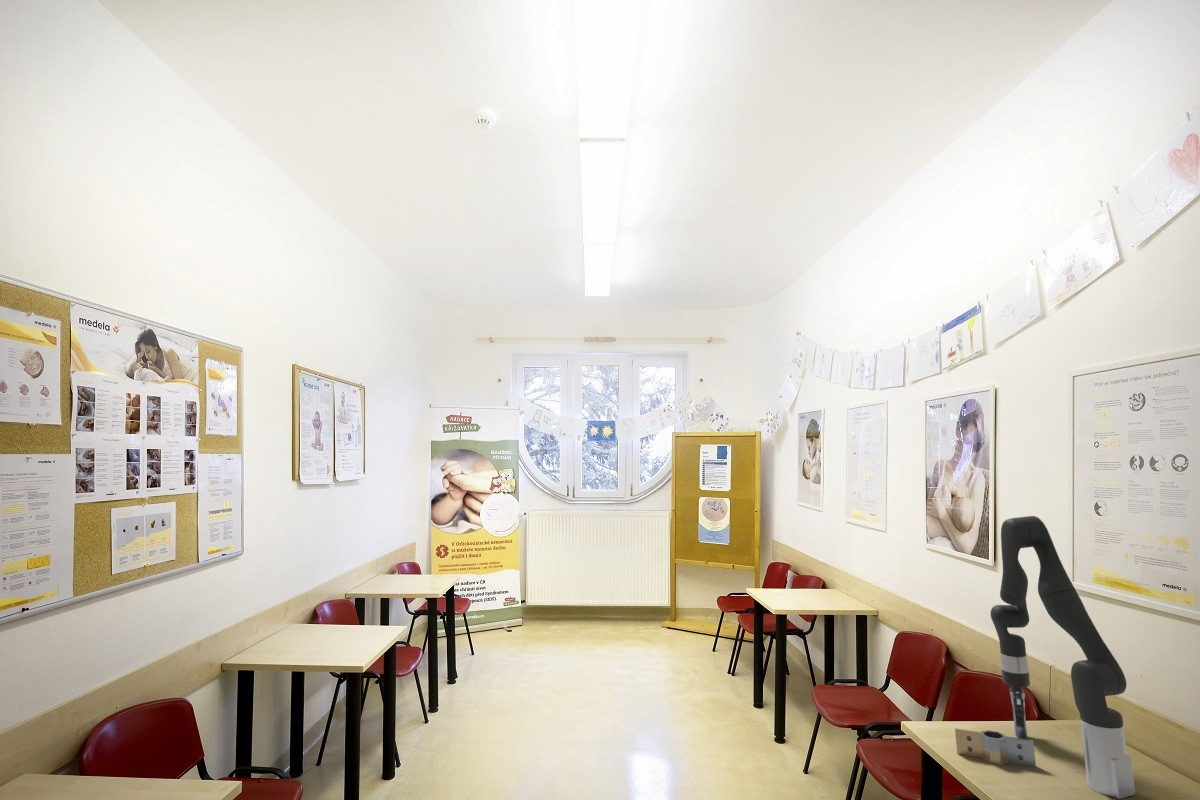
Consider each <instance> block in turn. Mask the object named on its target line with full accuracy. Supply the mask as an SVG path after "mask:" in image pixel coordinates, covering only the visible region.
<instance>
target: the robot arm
mask: <svg viewBox="0 0 1200 800" xmlns="http://www.w3.org/2000/svg"><path fill="white" fill-rule="evenodd" d="M1000 547H1001V549H1000V550H1001V559H1002V576H1001V583H1000V584H1001V585H1000V589H999V590H1000V592H999V597H1000V599H1001V600H1002V601H1003V602H1004V603H1006V604H997V605H994V606H992V608H991V609H990V618H991V621H992V623H993V627H994V628H995V631H996V633H997V634H996V635H997V637H998V641H999V649H1000V658H999V659H1000V660H999V661H1000V670H1001V679H1002V680H1001V681H1002V682H1003V683H1004V684H1005V685H1007V686H1010V687H1009V695H1010V700H1011V705H1012V707H1013V706H1014V709H1015V711H1014V713H1015V716H1016V725H1017V727H1023V728H1024V727H1025V724H1024V714H1025V715H1026V711H1025V712H1024V708H1026V704H1025V703H1026V702H1025V698H1026V695H1025V694H1026V693H1025V689H1022V688H1029V687H1030V685H1031V680H1030V671H1029V670H1030V669H1029V662H1028V656H1027V651H1026V649H1027V648H1026V641H1025V638H1024V637H1023V636H1021V635H1019V634H1015V633H1010V632H1009V630H1008V628H1009V629H1011V628H1012V629H1015V628H1016V629H1017V628H1018V629H1020V628H1021V629H1022V628H1026V627H1027V625H1028V624H1029V623H1030V614H1029V611H1028V604H1027V595H1028V588H1029V580H1028V579H1029V578H1028V576H1027V573H1026V571H1025V569H1024V568H1023V567H1022V564H1021V563H1020V561H1019V560H1020V559H1019V554H1020V550H1021V549H1024V548H1025V549H1027V548H1033V550H1034V551H1035V553H1036V556H1037V559H1038V561H1039V575H1038V576H1039V577H1038V581H1037V593H1038V596H1039V598H1040V600H1041V602H1042V604H1043V606H1044V608H1045V610H1046V612H1047V614H1048V615H1049V617H1050V618H1051V620H1053V622H1055V623H1056V625H1058V626H1059V627H1060V628H1061V629H1063V630H1064V631H1065V632H1066V633H1067V634H1068V635H1069V636H1070V637H1071V638H1072V639H1074V641H1075V642H1076V643H1077V644H1078V646H1079V647H1080V648H1081V650H1082V652H1083V655H1085V657H1086V659H1084V660H1078V661H1076V662H1073V664H1072V666H1071V670H1070V681H1071V686H1072V690H1073V691H1072V692H1073V697H1074V703H1075V706H1076V709H1077V711H1078V713H1079V718H1080V719H1079V720H1080V727H1081V728H1080V729H1081V739H1082V748H1083V756H1084V765H1085V766H1084V767H1085V775H1086V784H1087V786H1088V788H1090V789H1091V790H1093V791H1095V792H1096V793H1099V794H1102V795H1106V796H1109V797H1113V798H1116V799H1118V800H1119V799H1124V798H1127V797H1128V798H1129V797H1131V796H1135V795H1136V790H1135V782H1134V771H1133V762H1132V758H1131V756H1129V755H1128V754H1127V746H1126V739H1125V738H1126V737H1125V728H1124V720H1123V719H1124V718H1123V716H1122V713H1120V712H1119V711H1118V710H1116V709H1114V708H1111V707H1108V705H1107V704H1108V703H1107V700H1106V697H1110V696H1118V695H1121V694H1124V693H1125V691H1126V689H1127V679H1126V676H1125V673H1124V671H1123V669H1122V668H1121V666H1120V665H1119V663H1118V661H1117V660H1116V658H1115V656H1114V655H1113V654H1112V652H1111V651H1110V649H1109V648H1108V647H1109V646H1107V644H1106V643H1105V642H1104V640H1103V638H1102V636H1101V635H1100V633H1099V631H1098V630H1097V628H1096V625H1095V624H1094V622H1093V621H1092V619H1091V617H1090V615H1089V614H1088V612H1087V609H1086V607H1085V605H1084V603H1083V601H1082V599H1081V597H1080V595H1079V593H1078V592H1077V590H1076V588H1075V586H1074V584H1073V583H1072V581H1071V579H1070V577H1069V575H1068V573H1067V572H1066V569H1065V567H1064V564H1063V563H1062V561H1061V559H1060V557H1059V554H1058V552H1057V549H1056V547H1055V544H1054V542H1053V539H1052V537H1051V535H1050V533H1049V530H1048V528H1047V526H1046V524H1045V523H1044V522H1043V521H1042V520H1041V519H1040V518H1039V517H1037V516H1035V515H1028V516H1027V515H1026V516H1019V517H1013V518H1012V517H1011V518H1007V519H1005V520H1004V521H1003V522H1002V525H1001V527H1000ZM1013 697H1014V699H1013ZM1017 709H1022V711H1019V710H1017Z"/></svg>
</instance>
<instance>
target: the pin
mask: <svg viewBox="0 0 1200 800" xmlns="http://www.w3.org/2000/svg"><path fill="white" fill-rule="evenodd" d="M1013 699H1014V697H1013ZM1025 708H1026V707H1024V712H1025V714H1024V724H1025V727H1024V728H1023V727H1017V725H1016V716H1015V713H1014V711H1015V709H1014V706H1013V705H1012V713H1013V714H1012V715H1013V722H1014V724H1013V725H1014V735H1015V738H1021V739H1027V738H1028V729H1027V721H1026V709H1025ZM1017 710H1019V711H1022V709H1017Z"/></svg>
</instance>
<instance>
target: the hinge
mask: <svg viewBox="0 0 1200 800" xmlns="http://www.w3.org/2000/svg"><path fill="white" fill-rule="evenodd" d="M954 732H955V744H956V745H955V746H956V754H958V755H962V754H963V755H962V756H967V755H968V756H969V757H974V758H980V759H983V760H984V761H986V762H988V763H990V764H993V765H999V766H1003V765H1007V764H1009V763H1010V764H1014V765H1021V766H1027V767H1033V768H1036V767H1037V765H1036V764H1037V763H1036V756H1035V747H1034V746H1035V745H1034V743H1035V742H1034V740H1033V739H1027V738H1025V739H1023V738H1018V737H1016V736H1015V737H1014V736H1008V735H1006V734H1004V733H1002V732H999V731H996V730H988V729H987V730H981V731H976V730H975V731H974V730H968V729H961V728H956V727H955V729H954Z"/></svg>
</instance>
